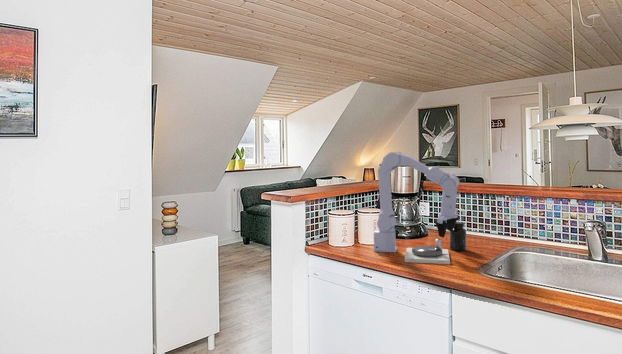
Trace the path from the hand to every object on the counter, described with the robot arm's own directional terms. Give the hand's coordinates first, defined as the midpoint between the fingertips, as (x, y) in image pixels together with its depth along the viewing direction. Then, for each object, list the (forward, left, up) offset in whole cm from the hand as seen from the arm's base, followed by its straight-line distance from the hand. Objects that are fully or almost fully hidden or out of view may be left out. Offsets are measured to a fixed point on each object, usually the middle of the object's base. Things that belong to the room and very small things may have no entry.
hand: (445, 233), depth 162 cm
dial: (-8, -8, -7) cm, 13 cm away
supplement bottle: (+5, +7, -9) cm, 12 cm away
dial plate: (-8, -8, -8) cm, 14 cm away
